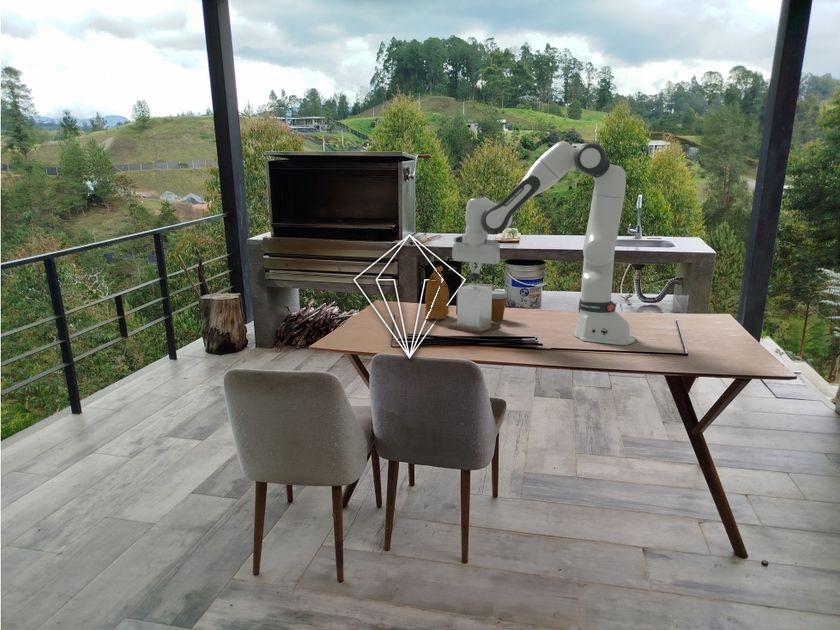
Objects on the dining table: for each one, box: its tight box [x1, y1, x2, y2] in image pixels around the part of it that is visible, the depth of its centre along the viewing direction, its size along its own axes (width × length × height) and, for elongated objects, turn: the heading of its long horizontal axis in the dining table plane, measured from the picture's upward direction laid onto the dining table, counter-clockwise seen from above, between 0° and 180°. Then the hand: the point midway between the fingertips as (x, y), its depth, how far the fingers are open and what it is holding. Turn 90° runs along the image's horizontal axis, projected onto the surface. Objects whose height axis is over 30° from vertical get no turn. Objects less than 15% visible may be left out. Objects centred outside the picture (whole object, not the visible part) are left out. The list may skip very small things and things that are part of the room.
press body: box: [447, 284, 501, 335], centre depth 242 cm, size 16×14×16 cm
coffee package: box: [424, 265, 450, 321], centre depth 259 cm, size 10×12×22 cm
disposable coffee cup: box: [491, 289, 508, 322], centre depth 257 cm, size 10×10×12 cm
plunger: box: [469, 272, 482, 288], centre depth 241 cm, size 8×8×18 cm
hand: (475, 273), depth 239 cm, fingers closed, pressing on plunger
